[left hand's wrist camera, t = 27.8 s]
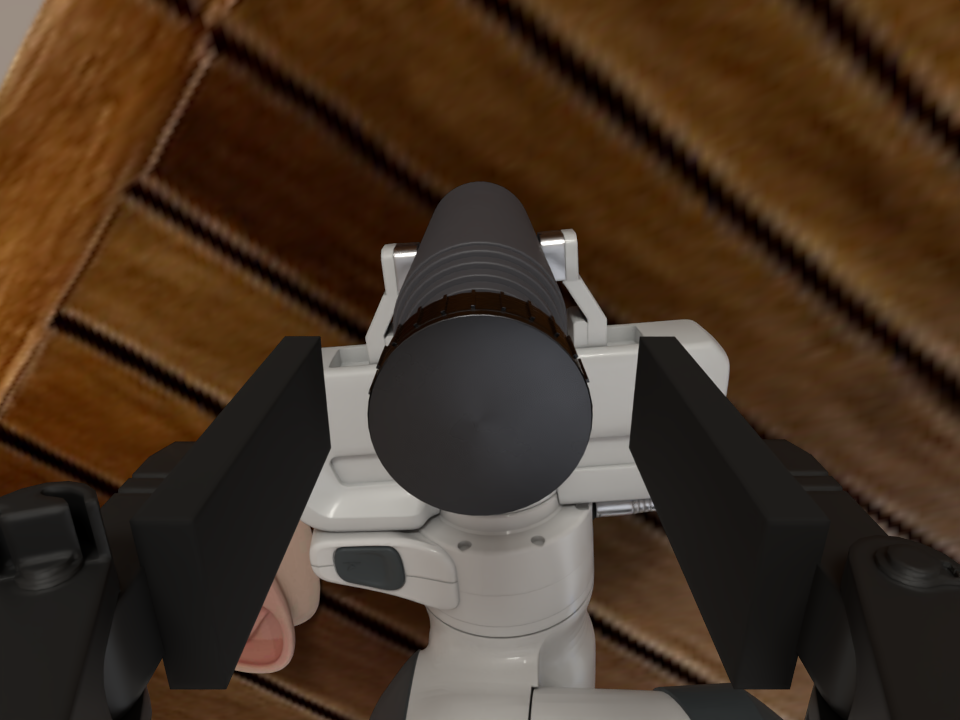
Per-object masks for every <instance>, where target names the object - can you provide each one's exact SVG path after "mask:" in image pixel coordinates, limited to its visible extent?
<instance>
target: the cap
mask: <svg viewBox="0 0 960 720" xmlns="http://www.w3.org/2000/svg"><path fill="white" fill-rule="evenodd" d="M376 369H378V370H377V371H376V374H375V376H374V379H373V381H372V384H371V386H370V389H369V392H368V394H369V395H370V396H369V400H368V412H367V417H368V429H369V433H370V438H371V442H372V444H373V447H374V450H375V452H376V454H377V456H378V458H379V460H380V462H381V464H382V465H383V467H384V468H385V469H386V471H387V472H388V474H389V475H390V476H391V477H392V478H393V479H394V480H395V481H396V482H397V484H398V485H400V486H401V487H402V488H403V489H404V490H406V491H407V492H408V493H409V494H411V495H412V496H414V497H415V498H417V499H419V500H420V501H422V502H424V503H426V504H428V505H430V506H432V507H435V508H438V509H441V510H444V511H447V512H451V513H456V514H461V515H470V516H490V515H499V514H504V513H509V512H513V511H516V510H519V509H522V508H525V507H528V506H530V505H532V504H534V503H536V502H538V501H540V500H542V499H543V498H545V497H546V496H548V495H550V494H551V493H552V492H553V491H555V490H556V489H557V488H558V487H560V486H561V485H562V484H563V483H564V482H565V481H566V480H567V478H568V477H569V476H570V475H571V474H572V472H573V471H574V470H575V468H576V467H577V466H578V464H579V462H580V460H581V459H582V457H583V455H584V453H585V450H586V448H587V445H588V442H589V439H590V435H591V430H592V421H593V405H592V399H591V395H590V390H589V387H588V384H587V383H589V378H588V376H587V373H586V371H585V368H584V366H583V363H582V361H581V358H579V359H578V354H577V352H576V349H575V347H574V344H573V342H572V339H571V337H570V335H568V336H566V335H565V333H564V332H563V331H562V329H561V328H560V327H559V326H558V325H557V324H556V322H555V319H554V317H553V316H552V315H550V316H548V315H546V314H545V313H544V312H543V311H541V310H540V309H538V308H537V307H535V306H533V305H532V304H531V301H529V300H527V302H525V301H523V300H520V299H518V298H515V297H512V296H508V295H504V292H502V291H500V293H492V292H476V290H475V289H474V290H472V291H471V292H468V293H460V294H456V295H452V296H448V295H447V294H446V295H443V298H442V299H440V300H437V301H435V302H433V303H431V304H429V305H427V306H425V307H424V308H422V306H420V307H419V308H418V310H417V312H416V313H415V314H414V315H412V316H411V317H410V318H409V319H408V320H407V321H406V322H405V323H404V324H403V325H401V324H399V325H398V327H397V330H396V332H395V335H394V336H393V338H392V340H391V341H390V343H389V345H388V346H386V345H385V346H384V349H383V351H382V354H381V356H380V359H379V361H378V364H377V366H376Z"/></svg>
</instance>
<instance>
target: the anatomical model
mask: <svg viewBox="0 0 960 720" xmlns="http://www.w3.org/2000/svg"><path fill="white" fill-rule="evenodd" d="M311 540H312V532H311V528H310V526H308V525H307V524H305V523H303V522H302V521H301V520H300V521H299V523H298V525H297V528H296V530H295V532H294V535H293V537H292V539H291V541H290V544H289V546H288V548H287V551H286V553H285V555H284V558H283V560H282V562H281V564H280V567H279V569H278V571H277V574H276V576H275V578H274V581H273V583H272V585H271V587H270V590H269V592H268V594H267V597H266V599H265V601H264V603H263V606H262V608H261V610H260V613H259V615H258V617H257V620H256V622H255V624H254V626H253V629H252V631H251V633H250V636H249V638H248V640H247V643H246V645H245V647H244V649H243V652H242V654H241V656H240V659H239V661H238V663H237V666H236V668H235V670H237V671H241V672H248V673H271V672H276V671H279V670H281V669H283V668H284V667H286V666H287V665H288V663H289V662H290V661H291V659H292V657H293V653H294V649H295V629H294V626H296V625H299V624H301V623H303V622H305V621H307V620H308V619H310V618H311V617H312V616H313V615H314V613H315V612H316V610H317V608H318V605H319V599H320V578H319V577H318V576H317V575H316V574H315V573H314V571H313V570H312V567H311V563H310V556H309V551H310V545H311Z"/></svg>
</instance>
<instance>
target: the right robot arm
mask: <svg viewBox="0 0 960 720" xmlns="http://www.w3.org/2000/svg"><path fill="white" fill-rule="evenodd" d="M537 238H538V241H539V243H540V245H541V248H542V250H543V252H544V255H545V257H546V259H547V261H548V264H549V266H550V268H551V271H552V273H553V275H554V278H555V280H556V281H563V283H564V285H565V286H566V288H567V289H568V291H569V292H570V294H571V295H572V297H573V298H574V300H575V301H576V303H577V304H578V306H579V307H580V308H579V307H578V306H572V307H569V308H568V309H567V336H568V335H570V337H571V339H572V342H573V344H574V347H575V349H576V352H577V354H578V359H579V358H581V361H582V363H583V366H584V368H585V371H586V373H587V376H588V378H589V383H587V384H588V387H589V390H590V395H591V399H592V405H593V421H592V430H591V435H590V439H589V442H588V445H587V448H586V450H585V453H584V455H583V457H582V459H581V460H580V462H579V464H578V466H577V467H576V468H575V470H574V471H573V472H572V474H571V475H570V476H569V477H568V478H567V480H566V481H565V482H564V483H563V484H562V485H561V486H560V487H558V488H557V489H556V490H555V491H553V492H552V493H551V494H550V495H548V496H546V497H545V498H543V499H542V500H540V501H538V502H536V503H534V504H532V505H530V506H528V507H525V508H522V509H519V510H516V511H513V512H509V513H504V514H499V515H490V516H470V515H461V514H456V513H451V512H447V511H444V510H441V509H438V508H435V507H432V506H430V505H428V504H426V503H424V502H422V501H420V500H419V499H417V498H415V497H414V496H412V495H411V494H409V493H408V492H407V491H406V490H404V489H403V488H402V487H401V486H400V485H398V484H397V482H396V481H395V480H394V479H393V478H392V477H391V476H390V475H389V474H388V472H387V471H386V469H385V468H384V467H383V465H382V464H381V462H380V460H379V458H378V456H377V454H376V452H375V450H374V447H373V444H372V442H371V438H370V433H369V429H368V417H367V412H368V400H369V396H370V395H369V394H368V392H369V389H370V386H371V384H372V381H373V379H374V376H375V374H376V371H377V370H378V369H376V366H377V364H378V361H379V359H380V356H381V354H382V351H383V349H384V346H385V345H386V346H388V345H389V343H390V341H391V340H392V338H393V322H392V323H391V318H392V316H393V314H394V308H395V304H396V300H397V297H398V295H399V292H400V290H401V287H402V285H403V283H404V280H405V278H406V276H407V274H408V271H409V269H410V267H411V264H412V262H413V260H414V257H415V255H416V253H417V250H418V248H419V246H420V243H419V242H413V243H398V244H396V243H395V244H387V245H384V247H383V248H382V250H381V262H382V269H383V276H384V283H385V290H386V291H385V293H384V295H383V297H382V299H381V302H380V304H379V306H378V309H377V311H376V313H375V316H374V318H373V320H372V323H371V325H370V328H369V330H368V332H367V335H366V337H365V339H366V344H365V345H352V346H339V347H327V348H322V359H323V369H324V379H325V389H326V399H327V409H328V420H329V430H330V440H331V450H330V452H329V454H328V456H327V459H326V461H325V463H324V466H323V468H322V470H321V472H320V475H319V477H318V479H317V482H316V484H315V486H314V489H313V491H312V493H311V495H310V498H309V500H308V502H307V505H306V507H305V509H304V512H303V514H302V516H301V518H300V520H301V521H302V522H303V523H305V524H307V525H308V526H311V527H313V528H314V530H313V534H312V540H311V545H310V551H309V556H310V563H311V567H312V570H313V571H314V573H315V574H316V575H317V576H318V577H319V578H321V579H323V580H325V581H328V582H332V583H337V584H342V585H348V586H353V587H358V588H363V589H368V590H373V591H378V592H382V593H386V594H390V595H394V596H398V597H402V598H405V599H408V600H412V601H415V602H418V603H420V604H423V605H425V607H426V609H427V612H428V614H429V618H430V633H429V644H428V646H427V647H426V648H425V649H424V650H420V649H419V650H418V651H416V652H415V653H414V654H413V655H412V656H411V657H410V658H409V659H408V661H407V662H406V663H405V664H404V665H403V667H402V668H401V669H400V671H399V672H398V673H397V675H396V676H395V677H394V679H393V680H392V682H391V683H390V684H389V686H388V687H387V689H386V690H385V691H384V693H383V694H382V696H381V697H380V699H379V701H378V703H377V704H376V706H375V708H374V710H373V712H372V715H371V717H370V719H369V720H783V719H782V718H781V717H779V716H778V715H777V714H776V713H775V712H773V711H772V710H771V709H770V708H768V707H767V706H766V705H765V704H763V703H762V702H761V701H759V700H758V699H757V698H755V697H754V696H752V695H751V694H750V693H748V692H747V691H745V690H744V689H733V686H732V684H731V683H719V684H703V685H686V686H669V687H658V688H655V689H654V690H652V691H649V690H621V689H595V663H596V648H595V634H594V629H593V625H592V622H591V619H590V616H589V614H588V612H587V607H588V604H589V602H590V599H591V595H592V591H593V584H594V550H593V523H592V519H594V518H595V517H610V516H624V515H632V513H633V514H636V513H642V512H649V511H650V512H652V511H656V509H655V507H654V505H653V502H652V500H651V498H650V495H649V493H648V491H647V489H646V486H645V484H644V482H643V479H642V477H641V475H640V473H639V470H638V468H637V466H636V463H635V461H634V459H633V456H632V454H631V452H630V450H629V440H630V430H631V420H632V409H633V399H634V389H635V379H636V369H637V359H638V348H639V338H640V336H675V337H676V338H677V340H678V341H679V342H680V343H681V344H682V345H683V347H684V348H685V349H686V350H687V351H688V353H689V354H690V355H691V356H692V357H693V358H694V360H695V361H696V362H697V363H698V364H699V366H700V367H701V368H702V369H703V370H704V371H705V373H706V374H707V375H708V376H709V377H710V379H711V380H712V381H713V382H714V383H715V384H716V386H717V387H718V388H719V389H720V390H721V392H722V393H723V394H724V395H725V396H726V394H727V387H728V380H729V360H728V357H727V355H726V352H725V351H724V350H723V348H722V347H721V346H720V344H719V343H718V342H717V341H716V340H715V338H714V337H713V336H712V335H710V334H709V333H708V332H707V331H706V330H705V329H703V328H702V327H701V326H700V325H699V324H697V323H696V322H694V321H692V320H687V319H686V320H671V321H658V322H646V323H633V324H620V325H607V318H606V317H605V315H604V313H603V311H602V310H601V308H600V306H599V305H598V303H597V301H596V300H595V298H594V297H593V295H592V294H591V292H590V291H589V289H588V288H587V286H586V284H585V283H584V281H583V280H582V278H581V277H580V275H579V274H578V243H577V237H576V233H575V232H574V231H573V229H566V230H554V231H544V232H538V233H537Z"/></svg>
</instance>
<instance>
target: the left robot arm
mask: <svg viewBox="0 0 960 720" xmlns="http://www.w3.org/2000/svg"><path fill="white" fill-rule="evenodd" d="M330 450H331V440H330V430H329V420H328V409H327V399H326V389H325V379H324V369H323V359H322V348H321V338H320V336H285V337H284V338H283V340H282V341H281V342H280V343H279V344H278V345H277V347H276V348H275V349H274V350H273V351H272V353H271V354H270V355H269V356H268V357H267V358H266V360H265V361H264V362H263V363H262V364H261V366H260V367H259V368H258V369H257V370H256V371H255V373H254V374H253V375H252V376H251V377H250V379H249V380H248V381H247V382H246V383H245V384H244V386H243V387H242V388H241V389H240V390H239V392H238V393H237V394H236V395H235V396H234V397H233V399H232V400H231V401H230V402H229V403H228V405H227V406H226V407H225V408H224V409H223V410H222V412H221V413H220V414H219V415H218V416H217V418H216V419H215V420H214V421H213V422H212V423H211V425H210V426H209V427H208V428H207V429H206V431H205V432H204V433H203V434H202V435H201V436H200V438H199V439H198V440H197V441H196V442H174V443H172V444H170V445H169V446H167V447H165V448H164V449H162V450H160V451H158V452H157V453H155V454H153V455H152V456H150V457H149V458H148V459H147V460H146V461H145V462H144V463H143V464H142V465H141V466H140V467H139V468H138V469H137V470H136V471H135V472H134V473H133V475H132V478H129V479H128V480H127V481H126V482H125V483H124V484H123V485H122V486H121V487H120V488H119V489H118V493H115V494H114V495H113V496H112V497H111V498H110V499H109V500H108V501H107V502H106V503H105V504H104V505H103V506H102V507H101V508H100V506H99V502H98V498H97V494H96V491H95V490H94V489H92V488H91V487H90V486H88V485H87V484H84V483H77V482H71V481H63V482H51V483H43V484H39V485H35V486H31V487H27V488H23V489H20V490H17V491H15V492H12V493H10V494H7V495H5V496H2V497H0V720H151V716H152V710H151V703H150V697H149V693H148V690H147V686H146V685H147V684H148V682H149V680H150V678H151V677H152V675H153V673H154V671H155V670H156V668H157V666H158V665H159V663H160V661H161V659H162V658H163V662H164V666H165V670H166V674H167V678H168V682H169V687H170V689H227V686H228V684H229V682H230V679H231V677H232V675H233V672H234V670H235V668H236V666H237V663H238V661H239V659H240V656H241V654H242V652H243V649H244V647H245V645H246V643H247V640H248V638H249V636H250V633H251V631H252V629H253V626H254V624H255V622H256V620H257V617H258V615H259V613H260V610H261V608H262V606H263V603H264V601H265V599H266V597H267V594H268V592H269V590H270V587H271V585H272V583H273V581H274V578H275V576H276V574H277V571H278V569H279V567H280V564H281V562H282V560H283V558H284V555H285V553H286V551H287V548H288V546H289V544H290V541H291V539H292V537H293V535H294V532H295V530H296V528H297V525H298V523H299V521H300V518H301V516H302V514H303V512H304V509H305V507H306V505H307V502H308V500H309V498H310V495H311V493H312V491H313V489H314V486H315V484H316V482H317V479H318V477H319V475H320V472H321V470H322V468H323V466H324V463H325V461H326V459H327V456H328V454H329V452H330ZM629 450H630V452H631V454H632V456H633V459H634V461H635V463H636V466H637V468H638V470H639V473H640V475H641V477H642V479H643V482H644V484H645V486H646V489H647V491H648V493H649V495H650V498H651V500H652V502H653V505H654V507H655V509H656V512H657V514H658V516H659V518H660V521H661V523H662V525H663V528H664V530H665V532H666V535H667V537H668V539H669V541H670V544H671V546H672V548H673V551H674V553H675V555H676V558H677V560H678V562H679V564H680V567H681V569H682V571H683V574H684V576H685V578H686V581H687V583H688V585H689V587H690V590H691V592H692V594H693V597H694V599H695V601H696V603H697V606H698V608H699V610H700V613H701V615H702V617H703V620H704V622H705V624H706V626H707V629H708V631H709V633H710V636H711V638H712V640H713V643H714V645H715V647H716V649H717V652H718V654H719V656H720V659H721V661H722V663H723V666H724V668H725V670H726V672H727V675H728V677H729V679H730V682H731V684H732V686H733V689H790V687H791V682H792V678H793V674H794V670H795V666H796V662H797V658H798V656H799V658H800V659H801V661H802V663H803V665H804V666H805V668H806V670H807V672H808V673H809V675H810V677H811V678H812V680H813V682H814V686H813V690H812V693H811V697H810V701H809V705H808V709H807V713H806V716H805V720H960V565H959V564H958V563H957V562H955V561H954V560H952V559H951V558H949V557H948V556H947V555H945V554H943V553H941V552H939V551H937V550H935V549H933V548H930V547H928V546H926V545H924V544H922V543H918V542H915V541H911V540H908V539H904V538H900V537H894V536H888V535H887V534H886V533H885V532H884V531H883V530H882V529H881V528H880V526H879V525H878V524H877V523H876V522H875V521H874V520H873V519H872V518H871V517H870V516H869V515H868V514H867V513H866V512H865V511H864V510H863V509H862V508H861V506H860V505H859V504H858V503H857V502H856V501H855V500H854V499H853V498H852V497H851V496H850V495H849V494H848V493H847V492H846V491H842V486H841V485H840V484H839V483H838V482H837V481H836V480H835V479H834V478H833V477H832V476H828V472H827V471H826V470H825V469H824V468H823V466H822V465H821V464H820V463H819V462H818V461H817V460H816V459H815V458H814V457H813V456H812V455H811V454H809V453H808V452H806V451H804V450H802V449H801V448H799V447H797V446H795V445H794V444H792V443H790V442H788V441H787V440H762V439H761V438H760V436H759V435H758V434H757V433H756V432H755V431H754V429H753V428H752V427H751V426H750V425H749V423H748V422H747V421H746V420H745V419H744V418H743V416H742V415H741V414H740V413H739V412H738V410H737V409H736V408H735V407H734V406H733V405H732V403H731V402H730V401H729V400H728V399H727V397H726V396H725V395H724V394H723V393H722V392H721V390H720V389H719V388H718V387H717V386H716V384H715V383H714V382H713V381H712V380H711V379H710V377H709V376H708V375H707V374H706V373H705V371H704V370H703V369H702V368H701V367H700V366H699V364H698V363H697V362H696V361H695V360H694V358H693V357H692V356H691V355H690V354H689V353H688V351H687V350H686V349H685V348H684V347H683V345H682V344H681V343H680V342H679V341H678V340H677V338H676V337H675V336H640V338H639V348H638V359H637V369H636V379H635V389H634V399H633V409H632V420H631V430H630V440H629Z"/></svg>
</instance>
